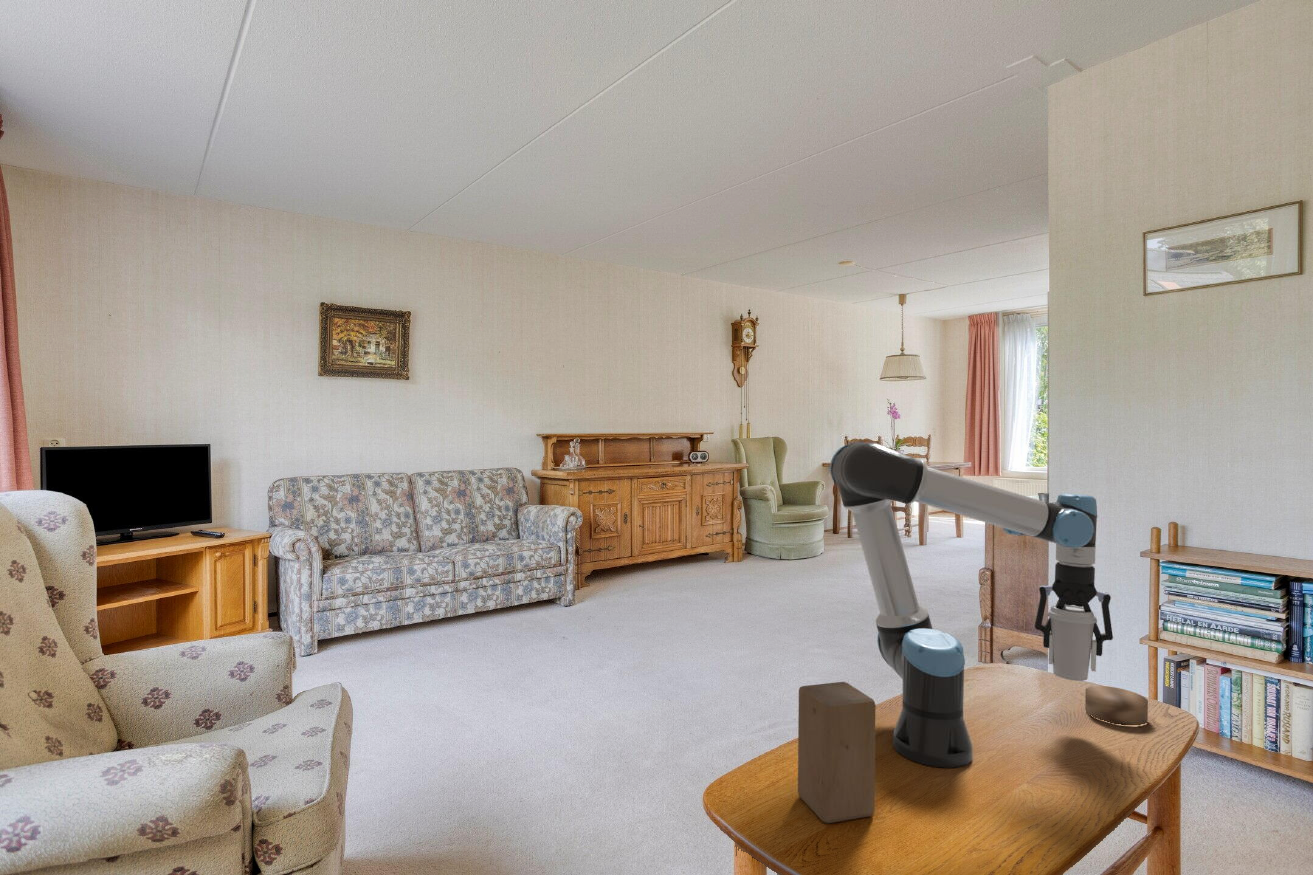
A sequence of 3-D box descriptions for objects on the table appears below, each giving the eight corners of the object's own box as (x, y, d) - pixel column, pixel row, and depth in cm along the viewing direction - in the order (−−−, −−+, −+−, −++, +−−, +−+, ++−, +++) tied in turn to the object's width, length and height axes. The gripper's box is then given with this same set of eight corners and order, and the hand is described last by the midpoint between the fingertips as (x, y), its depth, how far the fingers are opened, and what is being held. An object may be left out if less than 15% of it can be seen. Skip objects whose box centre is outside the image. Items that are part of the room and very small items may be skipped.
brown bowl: (1087, 720, 155) (1087, 698, 155) (1083, 702, 166) (1083, 682, 166) (1151, 732, 149) (1151, 709, 149) (1143, 713, 160) (1143, 691, 160)
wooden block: (824, 826, 112) (825, 705, 112) (795, 795, 122) (796, 684, 122) (877, 817, 115) (878, 699, 115) (844, 787, 125) (845, 679, 124)
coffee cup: (1055, 665, 158) (1057, 601, 158) (1102, 677, 151) (1104, 610, 151) (1038, 673, 152) (1040, 606, 152) (1086, 686, 145) (1088, 616, 145)
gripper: (1023, 560, 153) (1019, 661, 153) (1132, 572, 143) (1128, 680, 143) (1023, 555, 159) (1020, 653, 160) (1128, 566, 150) (1124, 669, 150)
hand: (1071, 665), depth 151 cm, fingers closed on coffee cup, 7 cm apart
